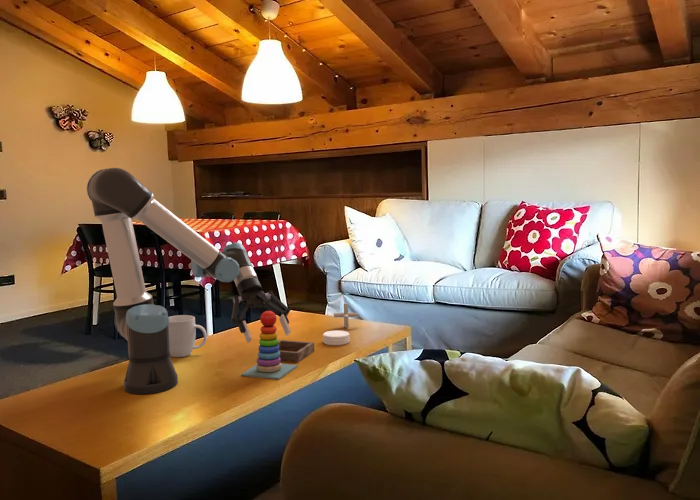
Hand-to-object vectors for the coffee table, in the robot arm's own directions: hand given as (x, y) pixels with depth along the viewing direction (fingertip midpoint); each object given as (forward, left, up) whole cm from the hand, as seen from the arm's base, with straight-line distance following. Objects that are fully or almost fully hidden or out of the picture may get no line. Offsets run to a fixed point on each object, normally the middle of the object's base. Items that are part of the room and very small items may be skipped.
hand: (269, 336), depth 183 cm
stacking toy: (-1, 0, -11) cm, 11 cm away
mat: (0, 0, -11) cm, 11 cm away
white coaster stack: (+38, -8, -11) cm, 40 cm away
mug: (+8, +38, -11) cm, 40 cm away
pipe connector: (+60, -4, -11) cm, 61 cm away
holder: (+18, +2, -11) cm, 21 cm away
